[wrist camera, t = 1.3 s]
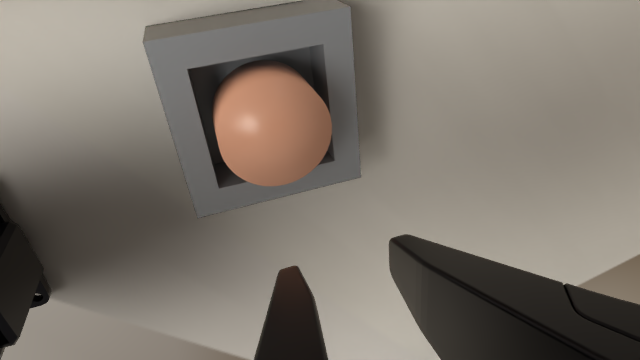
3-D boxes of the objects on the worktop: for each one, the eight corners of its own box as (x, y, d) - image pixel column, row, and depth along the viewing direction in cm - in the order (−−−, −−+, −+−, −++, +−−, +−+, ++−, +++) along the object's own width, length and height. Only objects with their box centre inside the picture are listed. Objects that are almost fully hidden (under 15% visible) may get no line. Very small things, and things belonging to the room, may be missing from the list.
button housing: (194, 187, 20) (197, 218, 18) (145, 26, 16) (142, 41, 14) (341, 152, 21) (361, 177, 19) (328, -4, 17) (350, 6, 15)
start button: (224, 167, 18) (231, 197, 16) (200, 70, 16) (205, 92, 14) (318, 145, 19) (336, 172, 17) (307, 50, 17) (326, 68, 15)
